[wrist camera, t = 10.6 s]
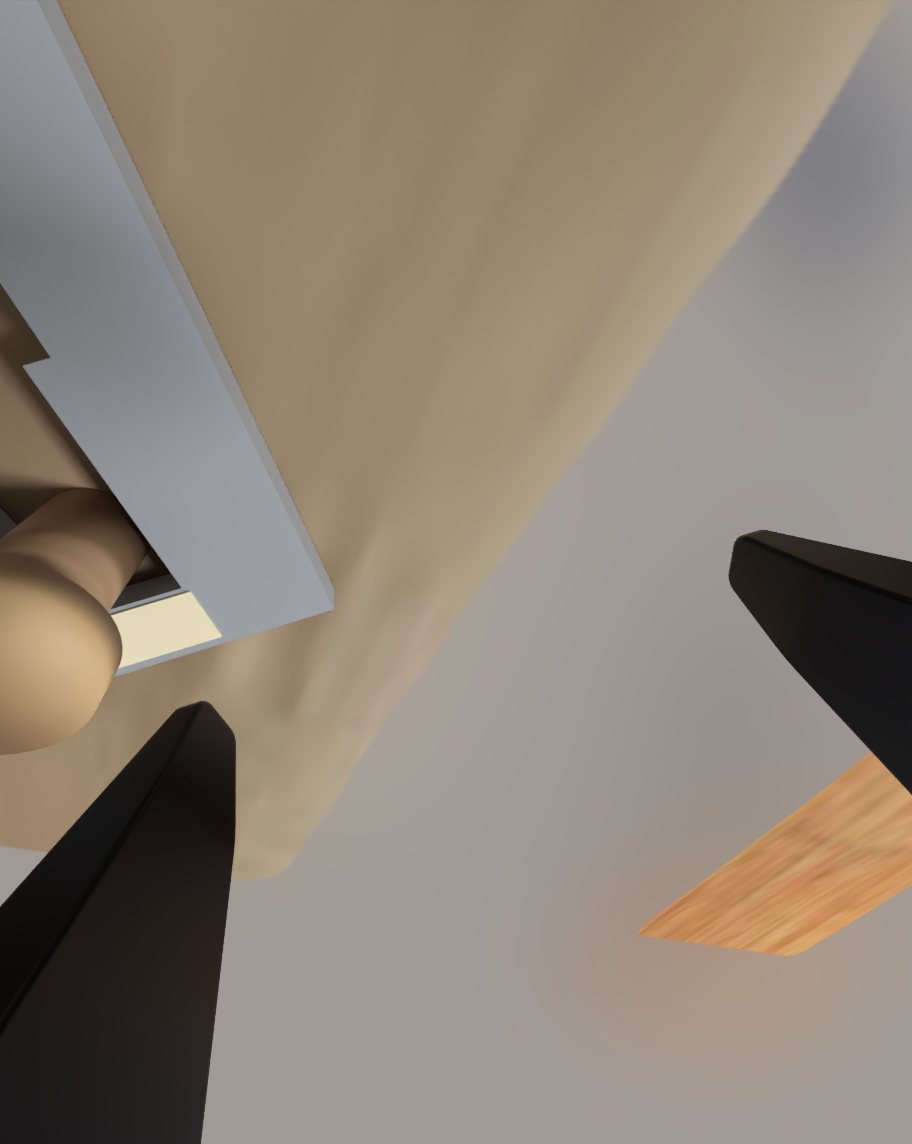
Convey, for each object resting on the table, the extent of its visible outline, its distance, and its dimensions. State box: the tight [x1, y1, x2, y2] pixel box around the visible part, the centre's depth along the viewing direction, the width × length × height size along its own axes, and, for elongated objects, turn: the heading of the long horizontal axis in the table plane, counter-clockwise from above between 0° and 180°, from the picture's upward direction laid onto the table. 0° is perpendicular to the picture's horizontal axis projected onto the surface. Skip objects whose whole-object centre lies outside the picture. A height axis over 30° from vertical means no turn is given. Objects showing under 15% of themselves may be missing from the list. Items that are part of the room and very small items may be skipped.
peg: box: [0, 488, 150, 755], centre depth 14 cm, size 5×5×8 cm
